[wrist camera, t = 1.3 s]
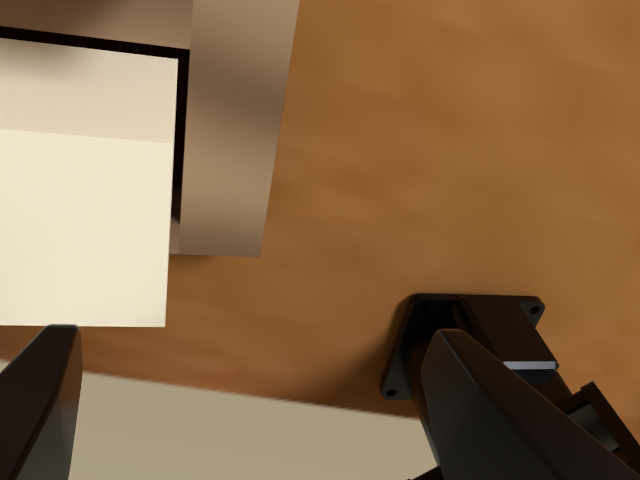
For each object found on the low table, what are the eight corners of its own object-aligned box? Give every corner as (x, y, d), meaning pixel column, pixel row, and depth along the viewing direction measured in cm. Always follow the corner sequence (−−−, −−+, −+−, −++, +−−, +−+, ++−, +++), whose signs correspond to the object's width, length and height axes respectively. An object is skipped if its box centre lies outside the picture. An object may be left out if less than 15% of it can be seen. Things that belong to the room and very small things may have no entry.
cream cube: (170, 215, 18) (165, 326, 14) (-5, 205, 17) (-65, 324, 13) (178, 59, 16) (173, 144, 12) (-31, 34, 14) (-117, 118, 10)
